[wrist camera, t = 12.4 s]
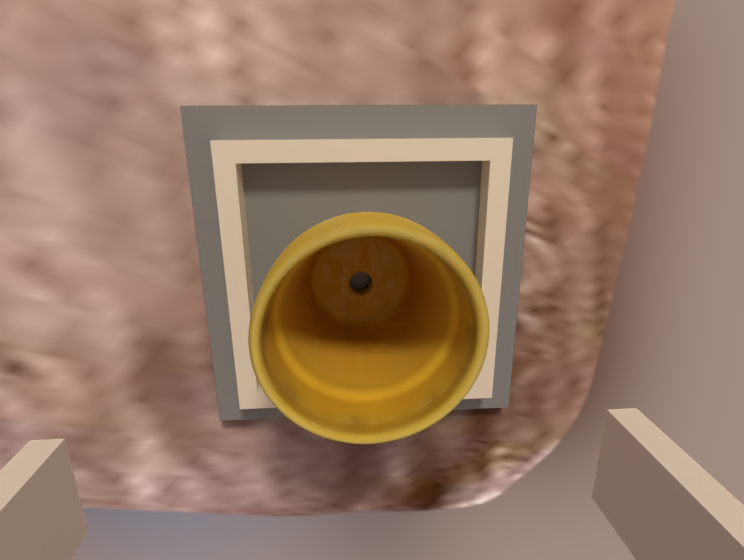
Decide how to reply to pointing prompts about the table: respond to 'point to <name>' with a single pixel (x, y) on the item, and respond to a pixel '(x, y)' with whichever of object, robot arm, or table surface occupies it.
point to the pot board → (354, 209)
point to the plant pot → (368, 329)
